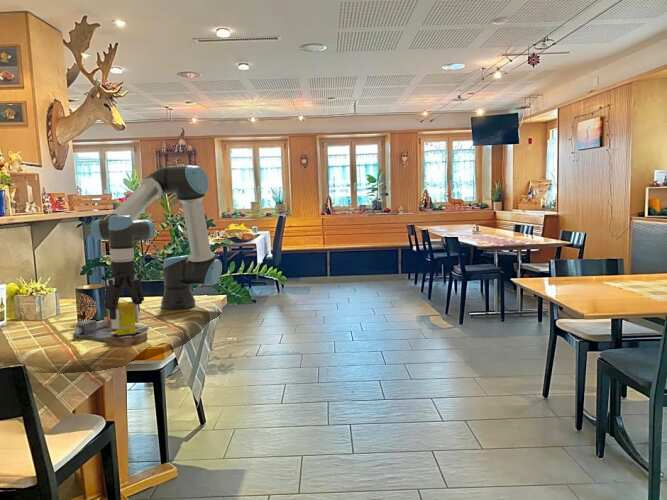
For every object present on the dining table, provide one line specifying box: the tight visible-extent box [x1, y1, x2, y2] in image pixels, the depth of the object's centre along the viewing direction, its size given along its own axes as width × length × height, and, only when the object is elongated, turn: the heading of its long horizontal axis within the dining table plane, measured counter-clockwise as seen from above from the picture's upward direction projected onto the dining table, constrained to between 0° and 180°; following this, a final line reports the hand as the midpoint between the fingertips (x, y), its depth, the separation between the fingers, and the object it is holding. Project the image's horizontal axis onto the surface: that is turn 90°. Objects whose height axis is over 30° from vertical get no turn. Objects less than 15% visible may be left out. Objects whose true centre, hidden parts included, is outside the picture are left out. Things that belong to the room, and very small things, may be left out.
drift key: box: [74, 317, 112, 334], centre depth 184 cm, size 14×3×3 cm, turn 156°
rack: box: [104, 331, 148, 348], centre depth 173 cm, size 10×10×3 cm
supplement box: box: [116, 300, 136, 337], centre depth 173 cm, size 6×6×11 cm
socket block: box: [72, 319, 149, 342], centre depth 184 cm, size 18×18×5 cm
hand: (125, 325), depth 173 cm, fingers closed on supplement box, 8 cm apart
